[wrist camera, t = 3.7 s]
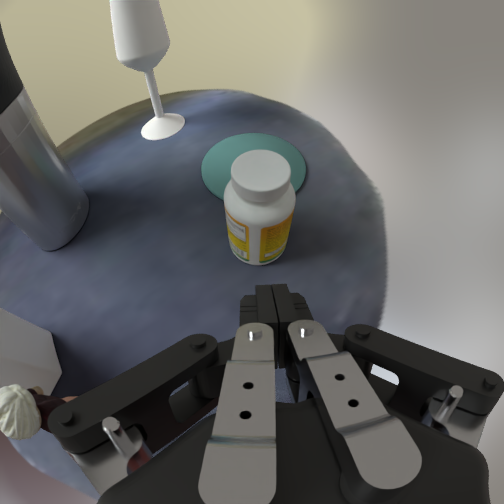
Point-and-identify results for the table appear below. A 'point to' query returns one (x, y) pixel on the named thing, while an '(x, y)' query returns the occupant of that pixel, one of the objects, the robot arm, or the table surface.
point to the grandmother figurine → (26, 410)
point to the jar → (27, 354)
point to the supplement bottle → (259, 206)
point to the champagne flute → (144, 54)
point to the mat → (229, 149)
